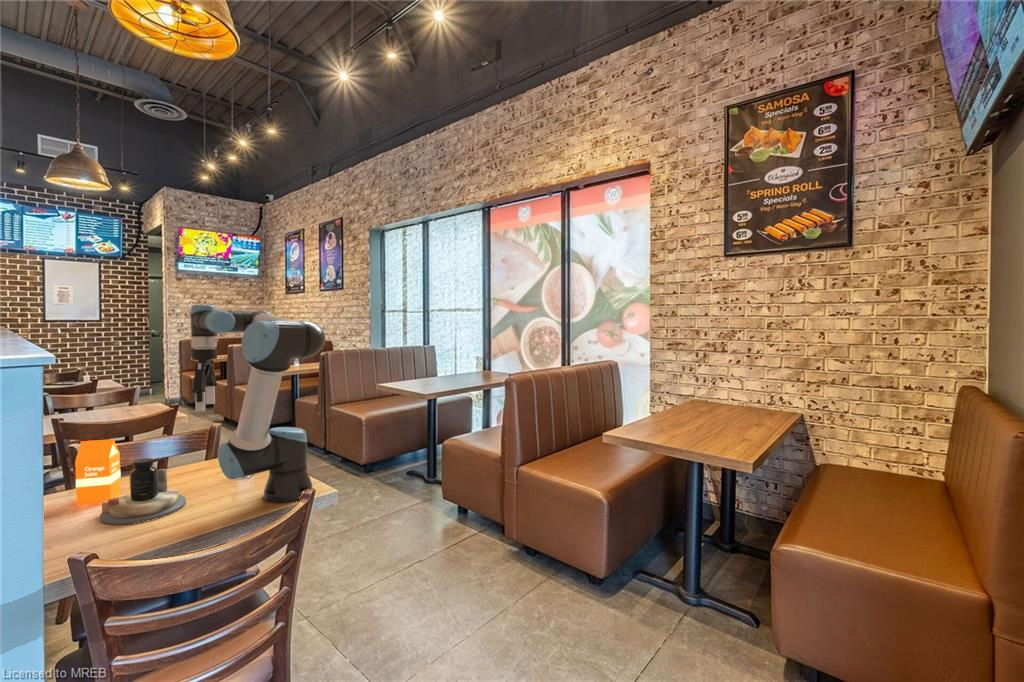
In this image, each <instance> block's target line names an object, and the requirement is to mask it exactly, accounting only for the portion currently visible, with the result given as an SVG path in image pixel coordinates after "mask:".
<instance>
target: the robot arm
mask: <svg viewBox="0 0 1024 682" xmlns="http://www.w3.org/2000/svg"><path fill="white" fill-rule="evenodd" d="M189 315H190V316H189V317H190V334H191V335H190V336H191V339H190V346H191V348H193V349H191V359H192V360H193V361H198V363H195V365H194V366H195V368H194V378H193V385H192V386H193V388H192V390H191V393H192V394H194V400H195V401H194V403H195V410H194V411H195V412H196V413H197V412H206V405H214V404H216V395H215V394H216V392H215V391H216V389H215V387H216V386H218V382H217V381H216V379H217V378H216V374H215V367H214V360H216V359H218V349H217V347H218V346H217V344H218V342H219V341H220V340H219V339H218V338H217V336H218V334H226V333H243V335H242V337H241V338H242V339H241V346H242V347H241V353H242V355H243V358H244V359H245V360H246V363H247V364H248V366H249V367H250V372H249V376H248V380H247V384H246V389H245V393H244V397H243V403H242V407H241V410H240V415H239V420H238V424H237V428H236V429H235V430H233V431H232V432H231V433H230V434H229V436H228V442H223V443H221V444H219V446H218V448H217V460H218V463H219V468H220V470H221V472H222V473H223V475H224V476H225V477H226V478H227V479H228V480H237V479H243V478H246V477H251V476H254V475H257V474H261V473H263V472H268V471H269V474H268V475H269V476H268V478H267V481H266V484H265V487H264V490H263V499H264V501H267V502H270V503H276V504H277V503H290V502H294V501H298V499H299V497H300V496H301V494H302V492H303V491H305V490H307V489H312V490H313V482H312V480H311V478H310V475H309V472H308V466H307V465H308V461H307V460H308V458H307V457H308V451H307V450H308V444H307V443H308V439H307V432H306V431H305V429H303V428H300V427H292V426H280V427H272V428H270V426H271V425H270V424H271V421H272V418H273V413H274V411H275V410H274V409H275V406H276V402H277V397H278V395H279V390H280V386H281V381H282V378H283V374H284V373H285V372H287V371H289V370H290V368H291V365H292V361H293V360H297V359H298V360H299V359H301V360H302V359H307V358H312V357H313V356H315V355H317V354H319V353H320V351H321V350H323V348H324V346H325V343H326V333H325V331H324V329H323V328H322V327H321V326H320V325H319V324H317V323H316V322H313V321H310V320H309V321H308V320H292V319H288V318H287V319H286V318H284V317H280V316H275V315H274V314H272V313H271V312H270V311H264V310H259V311H254V310H253V311H252V310H251V311H250V310H249V311H247V310H246V311H245V310H242V311H241V310H223V309H222V310H219V309H218V310H217V307H216V306H215V305H214V304H193V305H191V306H190V314H189ZM299 500H300V499H299Z"/></svg>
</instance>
